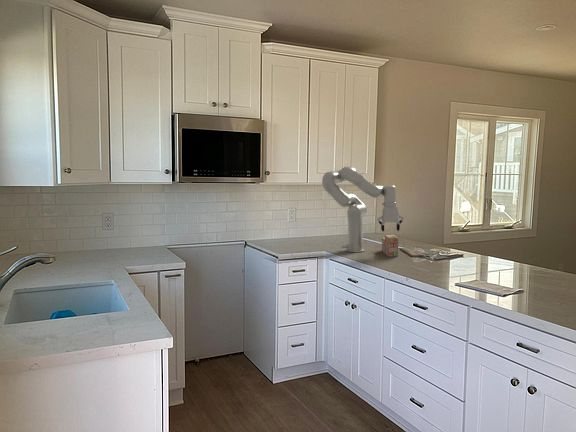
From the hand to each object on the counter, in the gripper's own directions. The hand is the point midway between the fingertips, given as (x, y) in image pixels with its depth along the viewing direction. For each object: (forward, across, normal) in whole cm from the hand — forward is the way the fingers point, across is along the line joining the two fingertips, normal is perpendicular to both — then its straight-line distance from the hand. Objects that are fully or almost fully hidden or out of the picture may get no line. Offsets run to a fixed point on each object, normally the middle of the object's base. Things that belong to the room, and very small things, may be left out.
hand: (390, 230), depth 301 cm
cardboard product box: (+15, 0, +1) cm, 15 cm away
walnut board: (+15, +16, +1) cm, 22 cm away
